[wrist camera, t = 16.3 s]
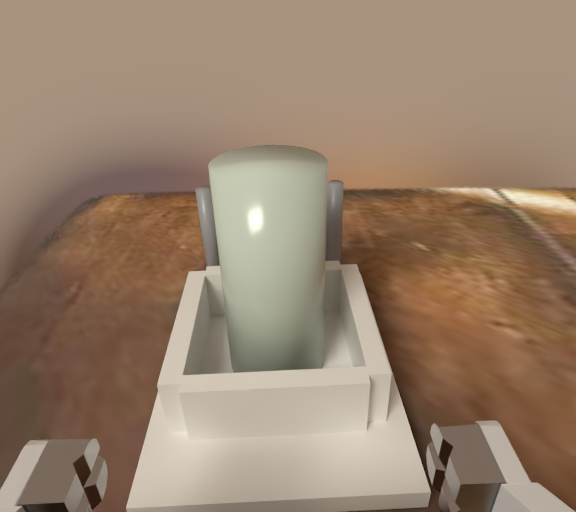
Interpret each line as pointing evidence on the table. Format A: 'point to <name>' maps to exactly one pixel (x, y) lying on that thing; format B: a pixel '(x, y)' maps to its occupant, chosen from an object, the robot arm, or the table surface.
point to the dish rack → (277, 409)
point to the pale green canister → (272, 254)
